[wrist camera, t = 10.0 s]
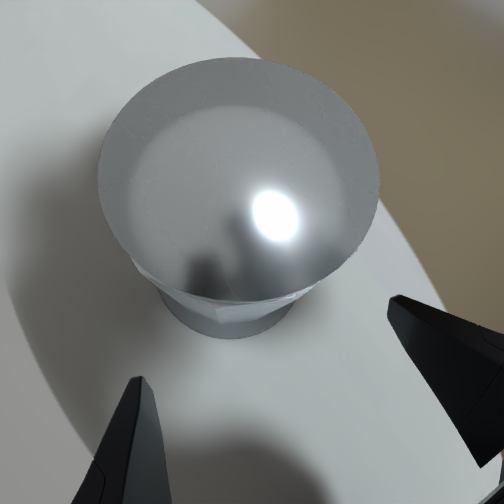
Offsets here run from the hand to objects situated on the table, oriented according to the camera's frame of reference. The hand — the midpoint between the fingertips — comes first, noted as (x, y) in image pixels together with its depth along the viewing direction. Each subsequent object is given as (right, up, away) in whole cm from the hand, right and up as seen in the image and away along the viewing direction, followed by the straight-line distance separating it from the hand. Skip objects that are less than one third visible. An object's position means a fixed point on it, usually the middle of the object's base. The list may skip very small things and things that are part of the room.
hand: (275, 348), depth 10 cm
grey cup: (-2, +2, +9) cm, 9 cm away
